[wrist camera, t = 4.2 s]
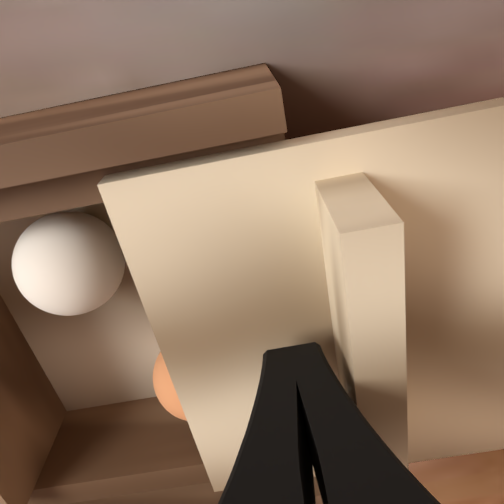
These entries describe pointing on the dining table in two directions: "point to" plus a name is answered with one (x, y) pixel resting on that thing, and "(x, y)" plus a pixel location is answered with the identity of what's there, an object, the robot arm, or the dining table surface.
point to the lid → (332, 275)
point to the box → (117, 307)
